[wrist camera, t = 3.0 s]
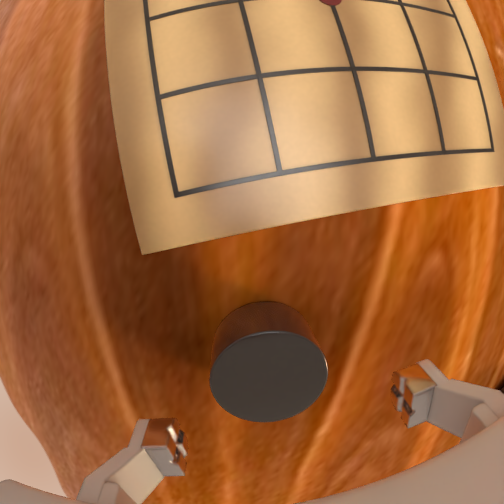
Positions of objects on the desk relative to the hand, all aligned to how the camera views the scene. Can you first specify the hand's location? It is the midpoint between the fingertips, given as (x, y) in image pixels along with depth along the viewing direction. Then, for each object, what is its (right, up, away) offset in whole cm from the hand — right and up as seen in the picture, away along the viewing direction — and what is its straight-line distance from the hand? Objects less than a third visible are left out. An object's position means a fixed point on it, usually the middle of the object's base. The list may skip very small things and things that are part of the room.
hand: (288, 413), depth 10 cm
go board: (+2, +17, +1) cm, 18 cm away
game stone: (-1, +1, +5) cm, 5 cm away
